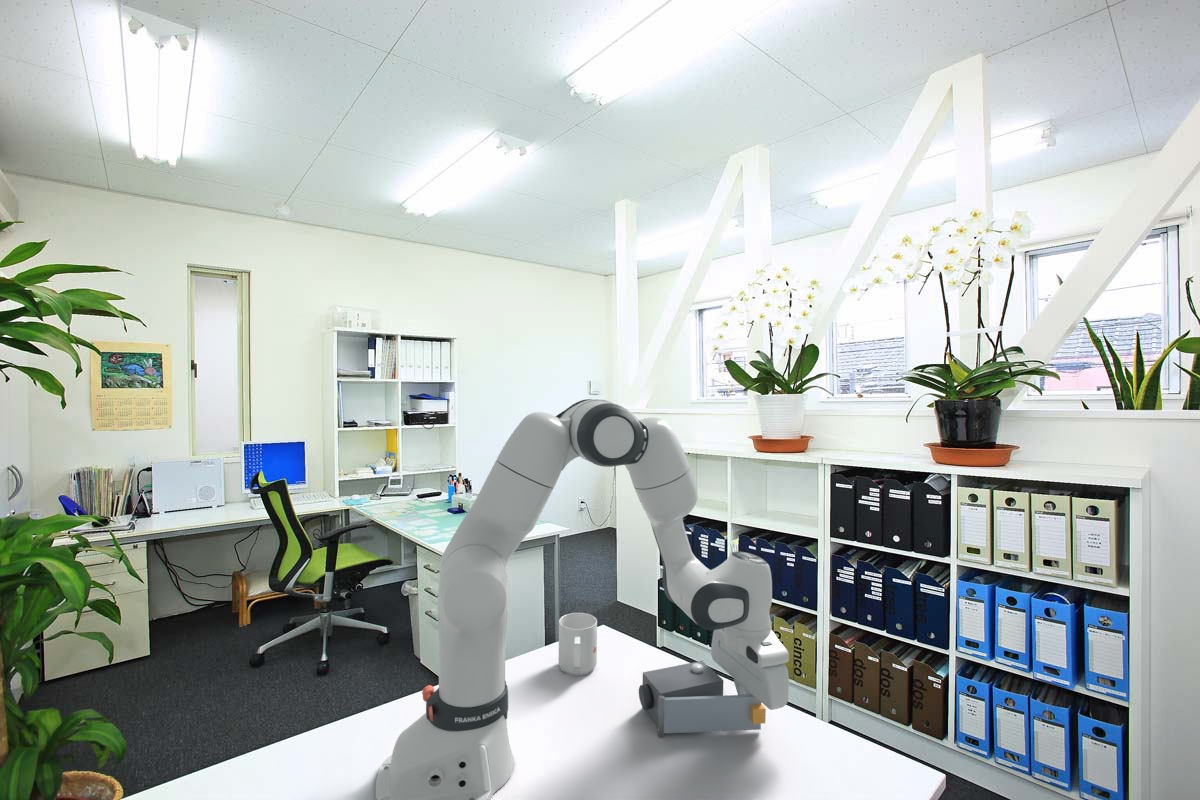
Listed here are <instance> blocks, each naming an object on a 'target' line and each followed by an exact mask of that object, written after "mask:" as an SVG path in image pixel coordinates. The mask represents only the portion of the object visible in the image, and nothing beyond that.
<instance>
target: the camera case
mask: <svg viewBox="0 0 1200 800" xmlns="http://www.w3.org/2000/svg"><path fill="white" fill-rule="evenodd" d="M659 696H664V697H665V698H666V697H696V696H724V679H723V678H722V677H721V676H720V675H718V674H717V672H715V671H714V670H713V669H712V668H711V667H710V666H709V665H708V664H707V663H706V662H704V661H703V660H699V661H694V662H690V663H689V662H688V663H684V664H679V665H674V666H669V667H663V668H658V669H655V670H647V671H643V672H642V684H640V685H639V687H638V698H639V702H640V705H641V707H642V710H643V711H644V712H645V714H646V715H647V717H648V718H649V719H650V721H651V722H652V723H653V725H654V726H655V728H656V729H657V730H658V697H659Z"/></svg>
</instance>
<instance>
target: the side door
mask: <svg viewBox="0 0 1200 800" xmlns="http://www.w3.org/2000/svg"><path fill="white" fill-rule="evenodd" d="M766 709H767V708H766V706H765V705H764V704H763V703H762V702H761V701H759V700H758V699H757V698H756V697H755V696H754V695H738V694H733V695H731V694H730V695H723V696H696V697H666V698H665V697H664V696H659V697H658V729H657V737H658V738H661V739H662V738H664V737H665V734H680V733H683V734H684V733H704V732H707V733H708V732H733V731H757V730H758V731H759V730H762V728H761V727H762V724H766V715H767V714H766V712H767V711H766Z"/></svg>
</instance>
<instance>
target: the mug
mask: <svg viewBox="0 0 1200 800" xmlns="http://www.w3.org/2000/svg"><path fill="white" fill-rule="evenodd" d="M597 640H598V620H597V617H595V616H594V615H592V614H590V613H585V612H572V613H568V614H564V615H562V616H561V617H560V618H559V620H558V667H559V669H560V670H562V671H563V673H565V674H567V675H569V676H573V677H581V676H586V675H588V674H590V673H591V672H592V671H593V670H594V669H595V668H596V665H597V664H598V663H597V659H598V658H597V655H598V653H597V651H598V647H597V646H598V641H597Z"/></svg>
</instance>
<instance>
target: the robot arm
mask: <svg viewBox="0 0 1200 800" xmlns="http://www.w3.org/2000/svg"><path fill="white" fill-rule="evenodd" d="M670 425H671V424H669V423H668V422H667V421H666V420H665V419H663V418H661V417H660V418H658V417H645V418H641V419H639V418H638V417H636V416H635V415H634V414H633V413H632V412H630V411H629V410H628V409H627V408H625V407H624V406H621V405H619V404H617V403H613V402H611V401H608V400H604V399H599V398H598V399H597V398H596V399H592V398H588V399H582V400H579V401H577V402H575V403H573V404H571V405H570V406H569V407H567V408H566V409H565V410H564V409H563V411H561V412H560V413H558V414H557V415H556V416H555V415H553V414H550V413H548V412H542V411H541V412H538V411H537V412H532V413H529V414H527V415H526V416H525V417H524V418H522V420H521V421H520V423H518V425H517V426H516V427H515V428H514V430H513V432H512V433H511V434H510V436H509V437H508V439H507V441H506V442H505V443H504V446H503V447H502V449H501V451H500V452H499V454H498V456H497V457H496V460H495V461H494V463H493V466H492V467H491V469H490V471H489V473H488V475H487V477H486V479H485V481H484V483H483V485H482V487H481V489H480V491H479V493H478V494H477V496H476V498H475V500H474V502H473V504H472V505H471V506H470V508H469V510H468V511H467V513H466V515H464V518H462V521H461V522H460V524H459V525H458V527H457V529H456V530H455V532H454V534H453V535H452V537H451V539H450V541H449V543H448V544H447V545H446V548H445V550H444V552H443V553H442V555H441V558H440V562H439V564H440V565H439V576H438V587H437V588H438V590H437V611H438V613H437V615H438V616H437V618H438V621H437V623H438V624H437V625H438V626H437V627H438V688H437V689H436V690H435V688H434V687H433V685H430V684H429V685H426V686H424V687H423V689H422V690H421V693H422V700H423V701H424V702H425V713H424V714H423V715H421V716H420V717H419V718H417V719H416V720H415V721H414V722H412V723H411V724H410V725H409V726H408V727H407V728H405V729H403V731H402V732H401V733H400V734H399V735H398V737H397V740H396V741H395V745H394V746H393V749H392V750H393V751H392V755H389V756H388V757H387V758H386V759H385V760H384V761H383V763H382V764H381V766H380V768H379V770H378V772H377V776H376V779H375V780H376V781H375V789H374V790H375V791H374V793H375V794H374V797H375V799H374V800H491V798H492V797H493V796H494V793H496V792H498V790H499V789H500V788H502V787H503V786H504V785H505V784H506V783H507V782H508V780H509V779H510V778H511V776H512V774H513V772H514V770H515V758H514V755H513V752H512V749H511V744H510V739H509V733H508V726H507V725H508V724H507V719H508V712H509V689H508V685H507V682H506V638H507V630H508V616H509V601H510V600H509V598H510V597H509V596H510V583H509V577H508V574H507V569H508V568H507V567H508V564H509V562H510V559H511V558H512V557H513V555H514V553H515V551H516V550H517V549H518V548H519V546H520V544H521V543H522V542H523V540H524V539H525V538H526V537H527V535H528V534H529V533H530V532H532V531H533V530H534V528H535V526H536V524H537V522H538V520H539V519H540V516H541V515H542V512H543V510H544V507H545V506H546V504H547V502H548V500H549V498H550V496H551V494H552V492H553V490H554V488H555V486H556V484H557V482H558V480H559V478H560V476H561V473H562V471H563V470H564V469H565V468H566V466H567V465H569V463H570V462H572V461H573V460H575V459H576V458H579V457H580V458H581V459H583V460H585V461H587V462H589V463H592V464H594V465H596V466H600V467H605V468H610V467H619V466H625V468H626V470H627V471H628V474H629V478H630V479H631V482H632V485H633V487H634V490H635V494H636V495H637V498H638V500H639V502H640V505H641V506H642V507H641V508H643V510H644V512H645V514H646V516H647V518H648V520H649V522H650V526H651V528H652V532H653V535H654V539H655V542H656V545H657V548H658V551H659V554H660V557H661V563H662V577H661V578H662V587H663V592H664V594H665V596H666V598H667V599H668V600H669V601H671V602H672V603H673V604H674V605H676V606H677V607H679V608H680V609H681V611H683V613H685V615H686V616H687V617H688V618H690V619H691V620H692V621H693V622H694V623H695V624H696V625H698V626H699V627H700V628H702V629H704V630H708V631H712V639H711V646H710V647H711V648H710V654H711V658H712V660H713V661H714V663H716V664H717V665H718V666H719V667H720V668H721V669H723V670H724V671H725V672H726V673H727V674H728V675H729V676H730V677H732V678H733V685H734V686H735V690H736V693H737V695H754V696H755V697H756V698H757V699H758V700H759V701H761V704H763V705H764V707H765V708H766V709H767V708H768V710H770V711H771V710H772V711H773V710H778V709H781V708H784V707H785V706H786V705H787V704H788V701H789V688H790V686H789V683H790V679H789V671H788V667H787V666H786V663H788V662H789V660H790V653H789V651H788V649H787V648H786V647H785V646H784V644H783V643H782V642H781V641H780V640H779V638H778V637H777V635H776V634H775V632H774V630H772V621H771V617H770V610H771V606H772V603H773V602H772V601H773V579H772V571H771V568H770V567H771V566H770V564H769V563H768V562H767V561H766V560H765V559H763V558H761V557H760V556H758V555H757V554H756V555H755V554H752V553H751V552H745V551H733V552H731V553H730V554H729V556H728V557H727V559H725V560H724V561H723V562H722V563H721V564H719V565H718V566H716V567H714V568H712V569H710V568H708V567H706V565H704V563H703V562H702V561H700V560H699V559H698V558H697V557H696V556H695V554H694V553H693V551H692V547H691V544H690V542H689V538H688V534H687V531H686V528H685V525H684V520H683V518H685V517H686V516H688V515H690V513H692V511H693V509H694V508H695V506H696V503H697V501H698V490H697V484H696V480H695V477H694V474H693V470H692V468H691V464H690V462H689V460H688V457H687V455H686V453H685V450H684V449H683V447H682V444H681V442H680V440H679V438H678V437H677V435H676V433H675V432H674V430H673V428H672V427H671V426H670Z"/></svg>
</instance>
